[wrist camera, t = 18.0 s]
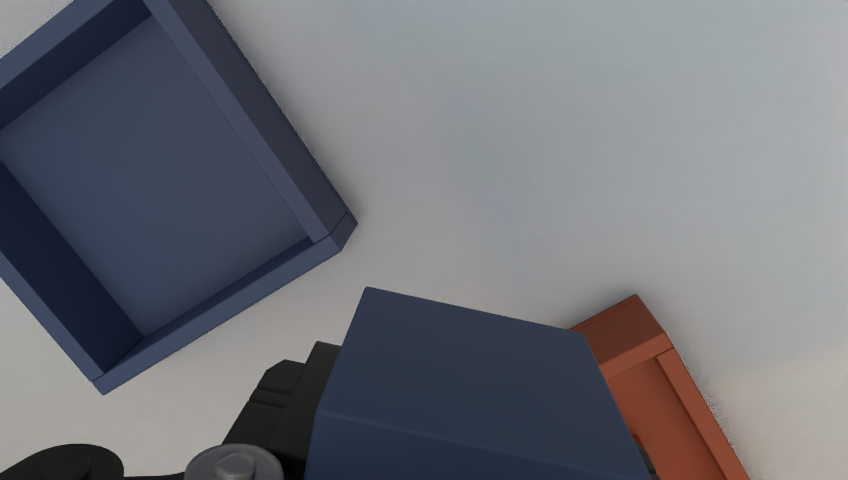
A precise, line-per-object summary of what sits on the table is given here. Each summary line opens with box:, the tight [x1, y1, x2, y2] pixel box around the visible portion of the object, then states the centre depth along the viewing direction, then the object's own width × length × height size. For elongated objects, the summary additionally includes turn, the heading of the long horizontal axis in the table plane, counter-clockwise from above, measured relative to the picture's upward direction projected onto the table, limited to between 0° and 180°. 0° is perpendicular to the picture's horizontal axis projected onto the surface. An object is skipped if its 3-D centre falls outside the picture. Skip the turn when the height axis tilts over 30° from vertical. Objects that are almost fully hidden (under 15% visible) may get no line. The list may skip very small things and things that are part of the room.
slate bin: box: [0, 0, 358, 395], centre depth 25 cm, size 13×13×4 cm
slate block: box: [303, 287, 652, 480], centre depth 10 cm, size 4×4×4 cm
